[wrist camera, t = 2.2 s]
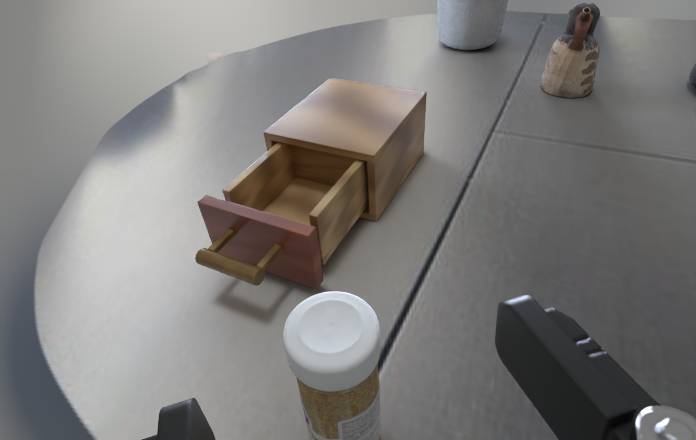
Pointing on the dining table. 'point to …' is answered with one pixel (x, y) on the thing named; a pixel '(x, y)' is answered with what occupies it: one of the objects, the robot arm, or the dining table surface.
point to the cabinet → (360, 131)
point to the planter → (470, 22)
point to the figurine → (574, 55)
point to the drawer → (284, 215)
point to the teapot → (693, 76)
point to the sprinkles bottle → (336, 365)
